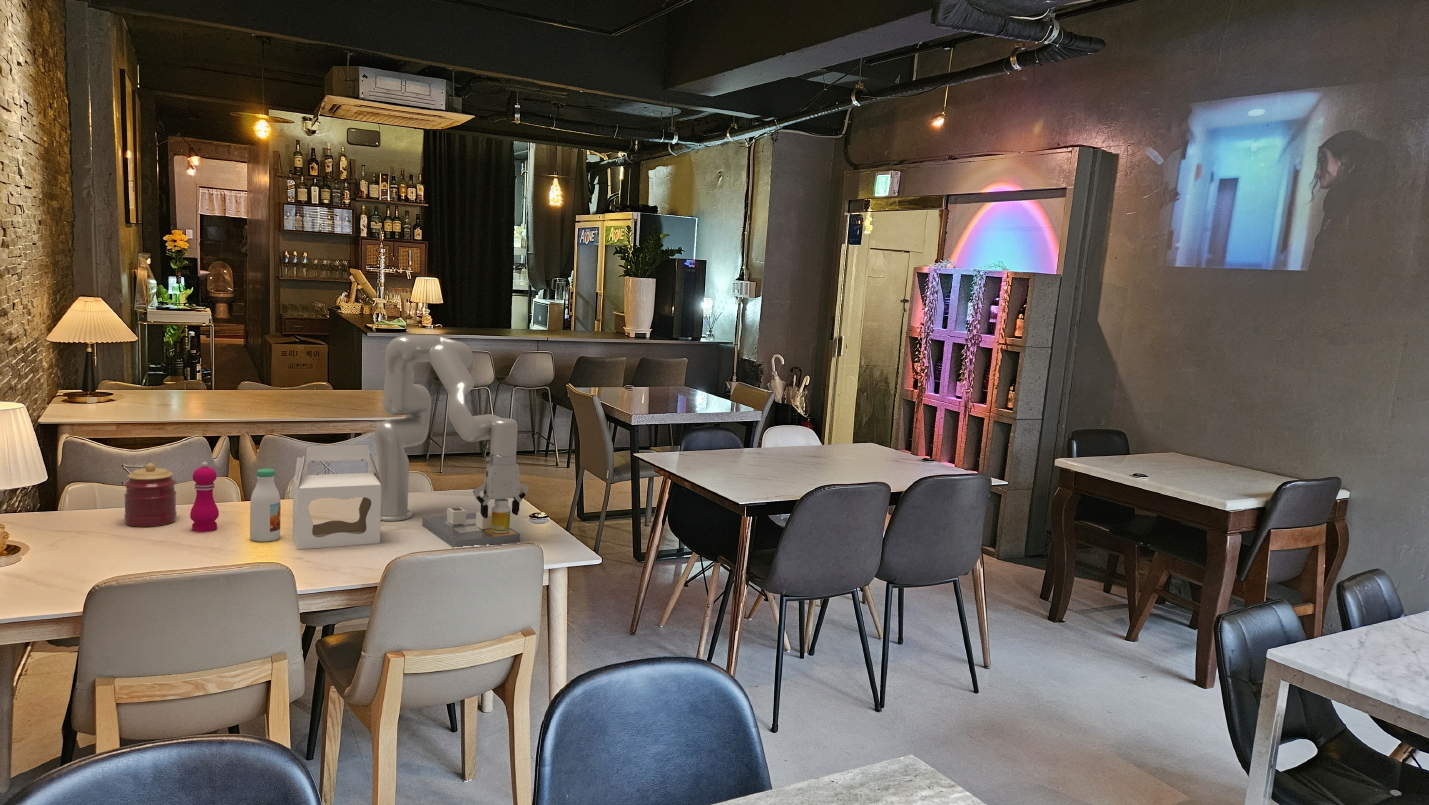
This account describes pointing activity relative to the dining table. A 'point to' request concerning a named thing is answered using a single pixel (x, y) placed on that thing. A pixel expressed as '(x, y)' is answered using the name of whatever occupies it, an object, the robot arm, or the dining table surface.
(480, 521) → the block
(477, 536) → the panel
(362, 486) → the gable box
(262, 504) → the milk bottle
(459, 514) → the block
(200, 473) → the pepper mill
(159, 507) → the canister
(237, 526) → the dining table surface
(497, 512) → the supplement bottle
